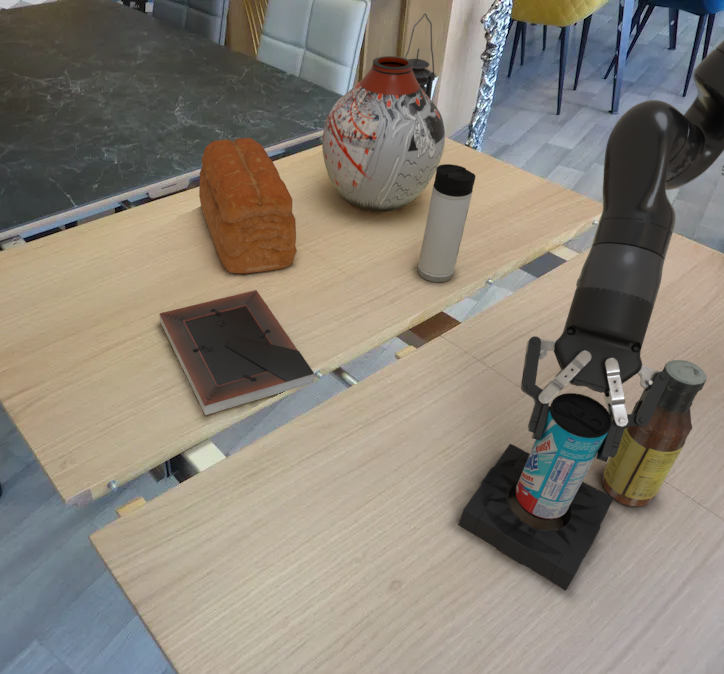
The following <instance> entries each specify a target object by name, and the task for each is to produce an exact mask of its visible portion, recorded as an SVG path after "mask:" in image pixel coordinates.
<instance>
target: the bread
mask: <svg viewBox="0 0 724 674" xmlns="http://www.w3.org/2000/svg"><path fill="white" fill-rule="evenodd" d="M274 163H275V162H274V161H273V159H272V158H270V156H269V154H268V152H267V151H266V150H265V148H264V146H263V145H262V144H260V143H259V142H258V141H256V140H255V139H254V138H252V137H242V138H239V137H238V138H236V139H235V140H234V141H232V140H230V139H221V140H220V139H219V140H213V141H211V142H210V143H209V144H208V145H206V147H205V148H204V151H203V155H202V156H201V164H202V165H201V167H200V171H199V188H198V189H199V191H198V192H199V193H198V194H199V195H198V196H199V201H200V207H201V210H202V213H203V216H204V219H205V222H206V225H207V228H208V231H209V234H210V238H211V239H212V242H213V245H214V248H215V250H216V253H217V257H218V259H219V261H220V262H221V264H222V266H223V267H224V269H225V270H226V271H227V272H228V273H231V274H245V275H246V274H253V273H262V272H268V271H276V270H282V269H285V268H287V267H289V266H291V265H293V262H294V259H295V257H296V254H297V251H298V250H297V246H296V241H297V226H296V225H297V223H296V217H295V215H294V213H293V197H292V195H291V193H290V192H289V190H288V188H287V185H286V183H285V182H284V180H283V179H282V178H281V176H280V173H279V171H278V169H277V167H276V165H275V164H274Z"/></svg>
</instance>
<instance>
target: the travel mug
mask: <svg viewBox="0 0 724 674" xmlns="http://www.w3.org/2000/svg"><path fill="white" fill-rule="evenodd" d="M434 176H435V177H434V182H433V185H432V190H431V196H430V200H429V206H428V210H427V211H428V212H427V217H426V222H425V226H424V233H423V239H422V243H421V249H420V254H419V258H418V259H419V260H418V264H417V273H418V275H419V276H420V277H421V278H422V279H425V280H426V281H428V282H433V283H444V282H447V281H449V280H451V279H452V278H453V276H454V273H455V269H456V265H457V264H456V263H457V259H458V255H459V251H460V247H461V244H462V243H461V242H462V238H463V235H464V230H465V225H466V221H467V217H468V212H469V210H470V209H469V208H470V204H471V199H472V194H473V191H474V190H473V189H474V185H475V180H476V174H475V173H474V172H472V171H470V170H468V169H467V168H466V167H464V166H461V165H457V164H450V163H449V164H448V163H445V164H444V163H443V164H439V165H438V167H437V170H436V172H435V175H434Z"/></svg>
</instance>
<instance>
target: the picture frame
mask: <svg viewBox="0 0 724 674" xmlns="http://www.w3.org/2000/svg"><path fill="white" fill-rule="evenodd" d="M158 314H159V321H160V322H159V323H160V325H161V327H162V329H163V331H164V333H165V335H166V338H167V339H168V341H169V343H170V346H171V348H172V349H173V352H174V354H175V356H176V357H177V360H178V362H179V364H180V366H181V369H182V370H183V371H184V374H185V377H186V379H187V381H188V383H189V384H190V387H191V389H192V391H193V393H194V395H195V397H196V399H197V402H198V403H199V406H200V407H201V409H202V411H203V414H204V415H205V416H207V415H210V414H214V413H217V412H220V411H221V412H222V411H225V410H228V409H231V408H234V407H238V406H241V405H245V404H247V403H251V402H254V401H258V400H261V399H264V398H268V397H271V396H274V395H277V394H281V393H284V392H288V391H291V390H294V389H297V388H298V389H299V388H302V387H304V386H308V385H311V384H314V379H315V372H314V370H313V369H312V367H311V366H310V365H309V364H308V362H307V360H306V359H305V357H304V356H303V355H302V352H301V351H300V350H298V348H297V347H296V346H295V344H294V343H293V341H292V340H291V338H290V336H289V335H288V334H287V332H286V331H285V329H284V328H283V327H282V325H281V323H280V322H279V320H277V318H276V316H275V315H274V313H273V312H272V311H271V309H270V308H269V306H268V305H267V303H266V302H265V300H264V299H263V297H262V296H261V294H260V293H259V291H258V290H257V289H255V290H251V291H247V292H242V293H238V294H234V295H230V296H226V297H221V298H217V299H213V300H209V301H205V302H201V303H197V304H193V305H188V306H184V307H181V308H176V309H172V310H167V311H164V312H160V313H158Z"/></svg>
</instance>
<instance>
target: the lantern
mask: <svg viewBox="0 0 724 674" xmlns="http://www.w3.org/2000/svg"><path fill="white" fill-rule="evenodd" d="M424 17H425V18H426V20H427V21H428V22H429V25H430V27H429V29H430V52H431V59H432V60H431V61H432V62H431V63H432V72H431V70H430V69H428V68H429V67H430V63H429V62H428V61H426V60H425V59H421V58H419V52H420V48H419V47H418V48H417V52H416V58H409V59H408V58H407V56H408V55H409V52H410V49H411V45H412V40H413V36H414V32H415V28H416V26H417V25H418V24H419V23H420V22H421V21H422V20H423V19H424ZM404 58H405V59H408V60H410V61H411V62H412V63H413V66H412V70H413V73H414V76H415V78H416V80H417V81H418V83H419V85H420V86H421V88H422V89H423V91H424V92H425V93H426V94H427V96H428V97H429V98H430V99H431V100H432V91H433V90H432V89H433V83H434V81H435V79H436V74H435V60H434V59H435V58H434V50H433V24H432V21H431V20H430V18H429V17H428V14H427V13H423V15H422V16H421V17H420V19H419V20H418V21H417V22H416V23H415V24H414V25H413V27H412V31H411V35H410V39H409V43H408V49H407V52H406V54H405V56H404Z"/></svg>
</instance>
